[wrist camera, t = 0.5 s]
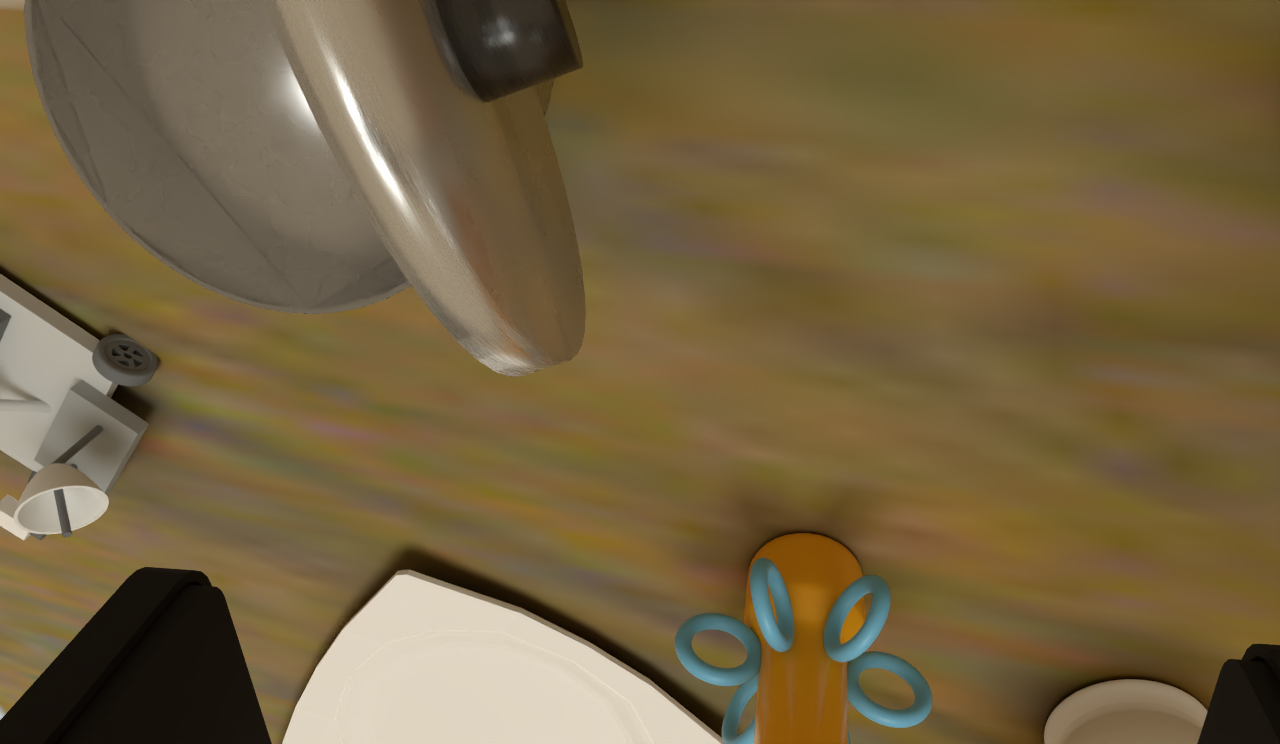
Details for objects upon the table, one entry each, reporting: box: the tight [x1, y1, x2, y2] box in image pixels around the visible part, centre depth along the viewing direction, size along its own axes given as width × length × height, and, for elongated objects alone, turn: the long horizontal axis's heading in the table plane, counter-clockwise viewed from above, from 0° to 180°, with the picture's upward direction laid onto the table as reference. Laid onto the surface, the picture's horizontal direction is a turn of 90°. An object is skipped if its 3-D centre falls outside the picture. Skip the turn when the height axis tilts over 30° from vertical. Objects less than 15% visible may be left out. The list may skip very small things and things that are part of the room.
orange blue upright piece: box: [675, 533, 932, 744], centre depth 46 cm, size 12×10×15 cm
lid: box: [263, 0, 586, 377], centre depth 24 cm, size 17×16×4 cm
